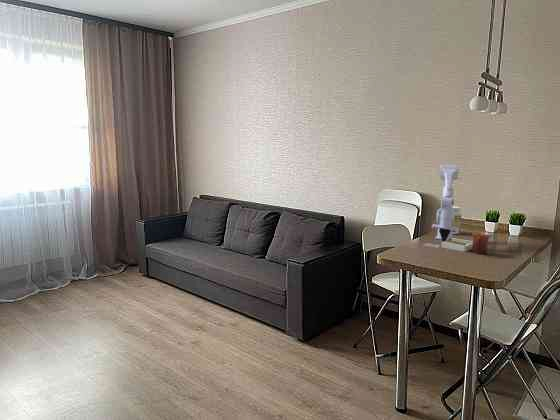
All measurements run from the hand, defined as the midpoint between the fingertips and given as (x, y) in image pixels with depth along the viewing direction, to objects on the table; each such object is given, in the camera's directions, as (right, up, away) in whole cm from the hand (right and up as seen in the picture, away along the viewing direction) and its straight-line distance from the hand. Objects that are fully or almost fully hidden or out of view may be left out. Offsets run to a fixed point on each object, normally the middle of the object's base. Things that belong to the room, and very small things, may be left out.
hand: (443, 242), depth 241 cm
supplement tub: (+17, +3, +35) cm, 39 cm away
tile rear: (+3, -2, -2) cm, 4 cm away
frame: (+6, -2, -5) cm, 8 cm away
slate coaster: (-8, -2, -3) cm, 9 cm away
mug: (+11, -5, -18) cm, 21 cm away
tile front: (+6, -3, -5) cm, 9 cm away
